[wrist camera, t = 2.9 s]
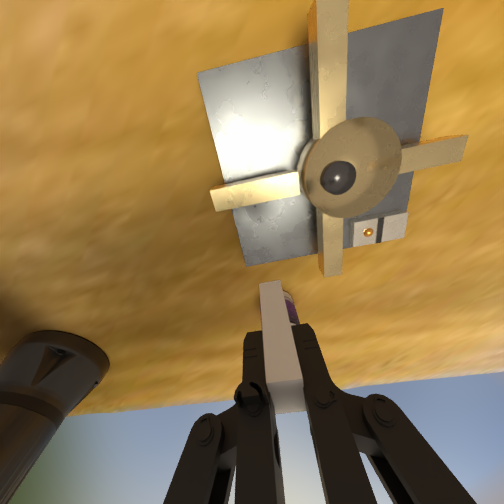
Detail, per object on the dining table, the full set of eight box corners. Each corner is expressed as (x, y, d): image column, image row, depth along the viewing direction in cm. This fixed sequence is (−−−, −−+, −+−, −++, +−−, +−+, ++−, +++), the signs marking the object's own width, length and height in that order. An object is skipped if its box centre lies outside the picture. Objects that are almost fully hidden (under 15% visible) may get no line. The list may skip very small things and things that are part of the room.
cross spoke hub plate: (246, 258, 28) (246, 272, 25) (201, 80, 18) (192, 67, 15) (391, 231, 26) (409, 242, 23) (423, 22, 17) (461, -5, 14)
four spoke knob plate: (240, 277, 26) (239, 300, 22) (178, 56, 16) (154, 25, 12) (413, 246, 24) (445, 265, 20) (472, -24, 14) (561, -92, 10)
